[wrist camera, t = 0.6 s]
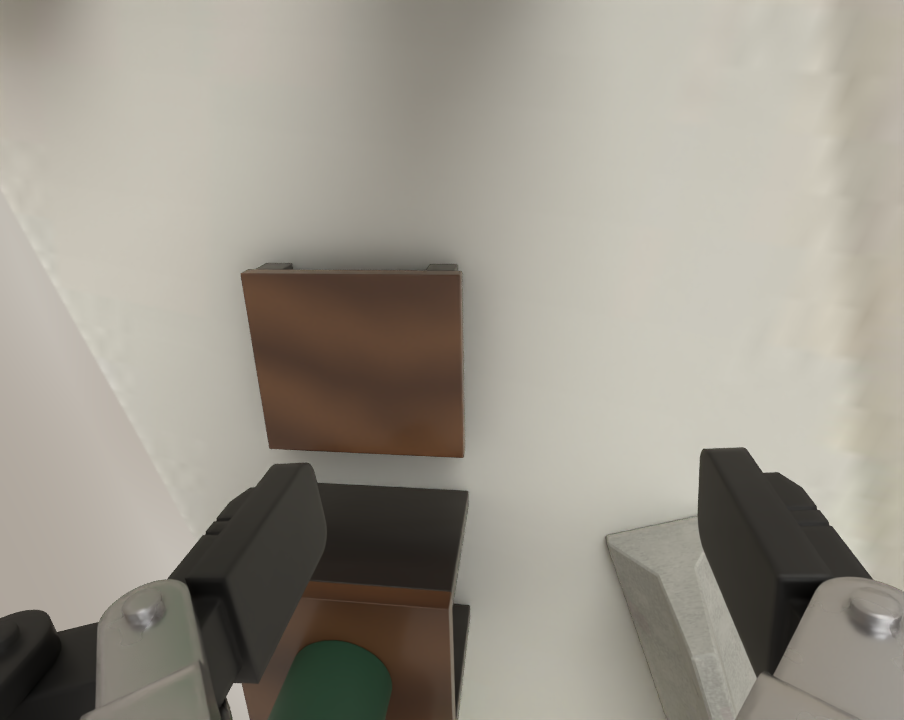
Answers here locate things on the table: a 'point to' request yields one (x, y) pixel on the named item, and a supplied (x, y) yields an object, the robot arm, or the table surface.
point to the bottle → (334, 685)
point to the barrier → (682, 621)
